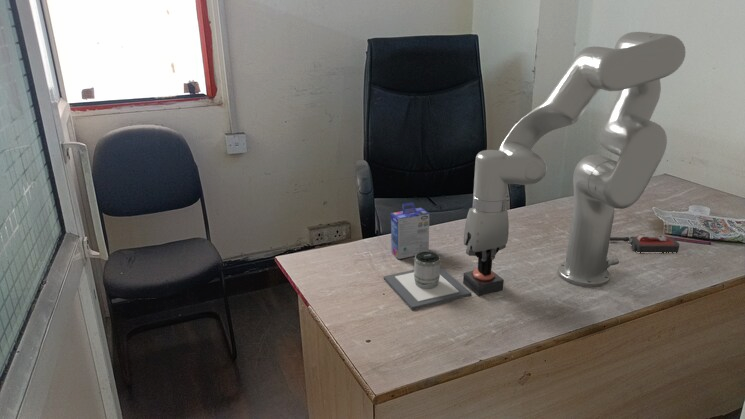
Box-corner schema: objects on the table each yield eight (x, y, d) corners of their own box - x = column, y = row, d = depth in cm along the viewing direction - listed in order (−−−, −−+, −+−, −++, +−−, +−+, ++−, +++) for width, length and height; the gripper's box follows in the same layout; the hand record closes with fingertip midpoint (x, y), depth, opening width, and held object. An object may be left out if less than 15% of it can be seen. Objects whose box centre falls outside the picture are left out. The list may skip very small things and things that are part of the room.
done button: (485, 275, 136) (486, 266, 135) (498, 285, 132) (498, 275, 131) (468, 280, 134) (468, 270, 133) (480, 289, 130) (480, 280, 129)
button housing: (486, 277, 138) (487, 267, 137) (502, 290, 132) (503, 279, 131) (463, 283, 135) (463, 272, 134) (478, 296, 129) (479, 285, 128)
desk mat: (438, 267, 143) (438, 263, 143) (471, 295, 130) (471, 292, 129) (383, 279, 138) (383, 275, 137) (411, 310, 124) (411, 306, 124)
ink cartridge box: (420, 245, 156) (422, 199, 150) (429, 253, 151) (431, 205, 146) (389, 251, 152) (389, 204, 147) (398, 260, 148) (398, 211, 142)
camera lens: (409, 280, 135) (410, 252, 132) (431, 275, 137) (432, 247, 134) (421, 292, 129) (422, 263, 127) (444, 286, 132) (445, 258, 129)
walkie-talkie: (668, 242, 158) (599, 241, 159) (671, 228, 156) (601, 227, 157) (683, 255, 150) (610, 254, 150) (686, 241, 148) (612, 240, 149)
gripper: (506, 193, 131) (500, 260, 138) (453, 203, 126) (450, 272, 133) (525, 203, 125) (518, 273, 132) (470, 214, 119) (466, 286, 126)
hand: (484, 272), depth 132 cm, fingers closed
